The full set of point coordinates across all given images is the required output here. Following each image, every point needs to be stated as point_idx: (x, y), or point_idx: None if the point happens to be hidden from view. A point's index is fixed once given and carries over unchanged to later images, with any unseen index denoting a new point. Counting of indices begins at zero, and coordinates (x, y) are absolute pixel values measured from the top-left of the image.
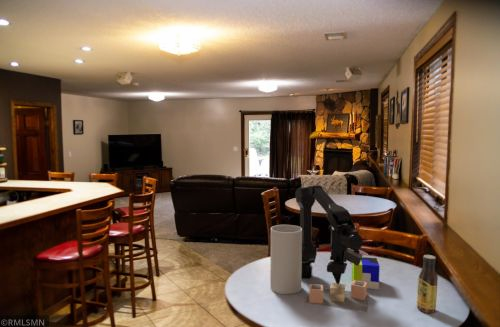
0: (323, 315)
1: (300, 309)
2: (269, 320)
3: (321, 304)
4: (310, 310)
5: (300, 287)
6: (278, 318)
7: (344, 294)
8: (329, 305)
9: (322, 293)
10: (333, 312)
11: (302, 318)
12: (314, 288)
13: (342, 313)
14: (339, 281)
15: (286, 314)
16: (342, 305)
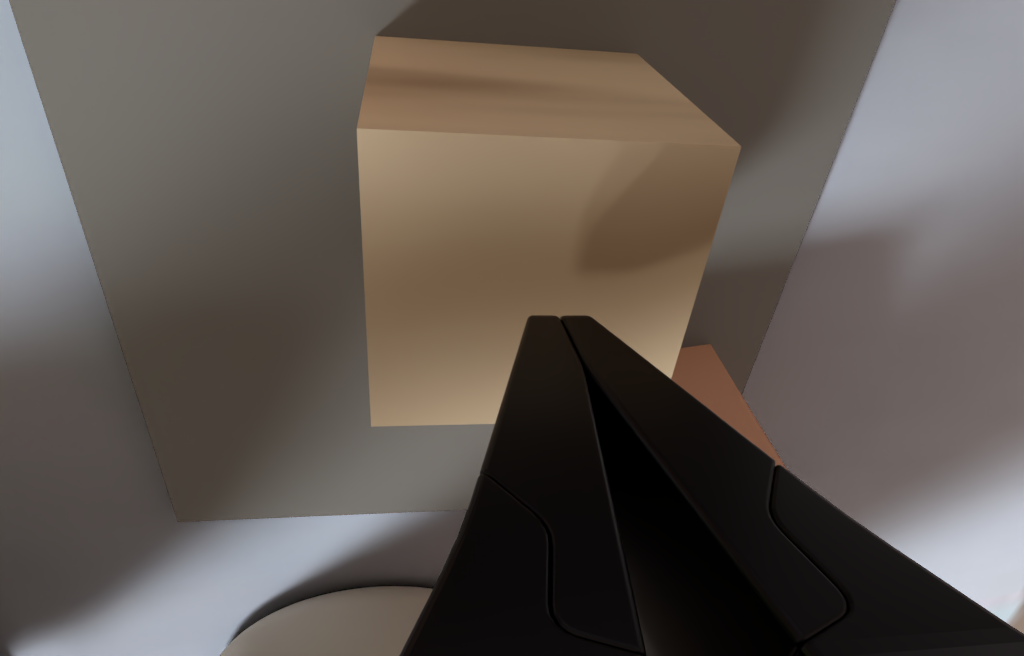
0: (999, 291)
1: (829, 495)
2: (993, 606)
3: (741, 354)
4: (857, 422)
5: (397, 624)
6: (975, 576)
7: (507, 70)
8: (769, 262)
9: (774, 456)
10: (940, 186)
11: (1017, 449)
12: None
13: (995, 51)
14: (634, 353)
15: (916, 553)
16: (766, 69)
